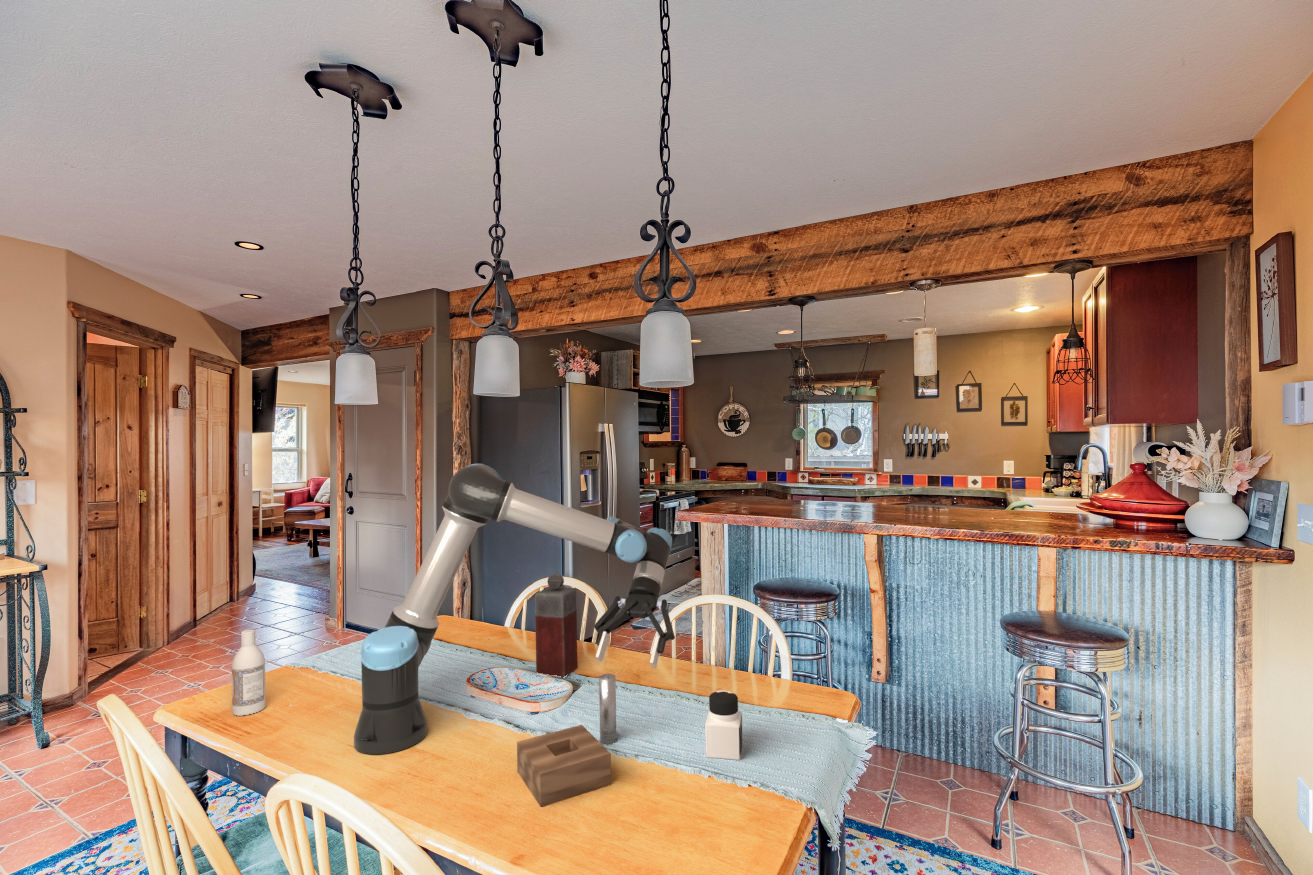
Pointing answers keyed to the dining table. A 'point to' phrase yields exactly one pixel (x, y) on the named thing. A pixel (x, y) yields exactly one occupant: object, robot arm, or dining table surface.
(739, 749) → the medicine bottle
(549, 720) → the dining table surface
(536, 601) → the square glass decanter
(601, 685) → the steel pin
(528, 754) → the bore block
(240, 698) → the bath foam
